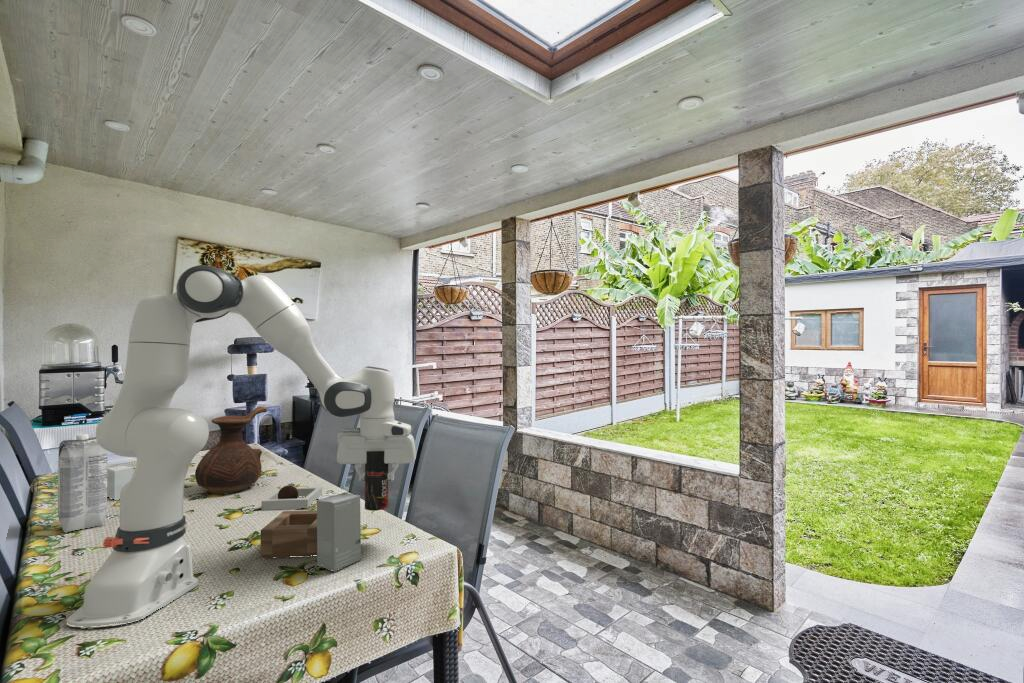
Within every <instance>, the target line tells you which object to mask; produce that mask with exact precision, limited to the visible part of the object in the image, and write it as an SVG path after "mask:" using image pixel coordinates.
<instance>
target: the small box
mask: <svg viewBox="0 0 1024 683" xmlns="http://www.w3.org/2000/svg"><path fill="white" fill-rule="evenodd" d="M133 474H134V467H133V466H128V465H124V464H123V465H118V466H112V467H107V497H109V498H112V499H114V500H116V499H120V492H121V490H122V488H123V487H124V486H125V485H126V484H127V483H128V482H130V480H131V479H132V477H133ZM109 498H108V499H109ZM114 500H113V501H114ZM116 501H117V500H116Z"/></svg>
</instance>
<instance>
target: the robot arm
mask: <svg viewBox="0 0 1024 683" xmlns="http://www.w3.org/2000/svg"><path fill="white" fill-rule="evenodd" d="M230 312H233V313H236V314H238V315H241V317H242V318H244V319H245V320H246V321H247V322H248V323H249V324H250V326H251V327H252V329H254V331H255V332H256V333H257V334H258V335H259V336H260V337H261V339H262V340H264V341H265V343H267V344H268V345H269V346H270V347H271V348H273V349H274V350H275V351H277V352H278V353H280V354H282V355H283V356H285V357H287V358H288V359H289V360H291V361H292V362H293V363H294V364H296V366H297V367H298V368H299V369H300V371H302V373H303V374H304V375H305V377H306V378H307V379H308V380H309V381H310V383H311V384H312V385H313V386H314V388H315V389H316V391H317V395H318V398H319V403H320V405H321V407H322V408H323V410H324V411H325V412H327V413H328V414H330V415H332V416H334V417H336V418H341V419H344V418H350V417H351V416H356V415H359V427H352V428H350V427H345V428H342V429H340V430H339V431H338V433H337V436H336V442H337V445H338V446H337V453H336V461H337V463H338V464H339V465H354V470H355V471H356V473H357V474H358V481H359V482H365V472H363V470H362V468H361V467H362V466H363V465H365V464H366V451H384V463H385V464H388V465H390V464H391V468H392V471H391V472H388V474H387V477H388V478H387V480H388V482H389V481H390V482H391V481H394V480H395V472H396V471H397V469H398V467H399V464H412V463H413V462H414V461H415V460H416V458H417V450H416V441H415V438H414V436H413V435H412V434H411V433H412V426H411V425H410V424H409V423H404V422H403V421H402V422H401V421H398V420H396V419H395V412H394V403H395V381H394V377H393V373H392V372H391V371H390V370H388V369H387V368H382V367H377V366H364V367H363V368H362V369H361V370H358V371H357V372H356V373H353V374H352V375H349V376H346V377H343V376H341V375H339V374H337V373H336V372H335V371H334V370H333V368H332V367H331V366H330V365H329V363H328V362H327V361H326V360H325V358H324V357H323V356H322V354H321V353H320V352H319V350H318V349H317V347H316V344H315V343H314V339H313V336H312V332H311V331H312V330H311V327H310V325H309V323H308V321H307V319H306V317H305V316H304V314H303V312H302V311H301V310H300V309H299V307H298V306H297V305H296V304H295V302H294V301H293V300H292V298H290V296H289V295H288V294H287V293H286V292H285V291H284V290H283V289H282V288H281V287H280V286H279V285H277V283H276V282H274V281H273V280H271V278H269V277H268V276H266V275H264V274H254V275H249V276H247V277H245V278H243V279H242V280H241V278H240V277H239V276H236V275H234V274H232V273H229V272H227V271H225V270H223V269H221V268H218V267H215V266H211V265H206V264H203V265H202V264H201V265H195V266H191V267H189V268H187V269H186V270H185V271H184V272H182V273H181V274H180V276H179V278H178V280H177V283H176V291H175V292H174V293H171V294H160V293H159V294H152V295H147V296H145V297H143V298H141V299H140V300H139V301H138V303H137V304H136V307H135V310H134V312H133V313H134V314H133V316H132V319H131V325H130V330H129V335H128V344H127V352H126V353H127V354H126V362H125V363H126V364H125V369H124V370H125V371H124V377H123V382H122V386H121V388H120V390H119V393H118V395H117V398H116V400H115V401H114V404H113V405H112V408H111V409H110V411H108V412H107V413H106V414H105V415H104V416H103V417H102V418H101V419H100V421H99V422H98V424H97V425H96V429H95V437H96V440H97V442H98V444H99V445H100V446H101V447H102V448H103V449H105V450H107V452H109V453H111V454H114V455H116V456H120V457H127V458H136V465H135V469H134V470H133V477H132V479H131V480H130V482H128V483H127V484H126V485H125V486H124V487H123V488H122V490H121V492H120V500H119V526H118V527H117V530H116V533H115V535H114V536H113V537H111V536H107V537H105V538H104V541H102V547H103V548H104V549H106V548H107V549H108V548H112V551H111V553H110V554H109V556H108V557H107V558H106V560H105V561H104V562H103V564H102V565H101V566H100V567H99V569H98V570H97V572H96V573H95V575H94V576H93V577H92V578H91V579H90V581H89V582H88V583H87V585H86V587H85V590H84V597H83V603H82V605H81V606H80V607H79V608H78V609H77V610H75V611H74V612H73V613H72V614H71V615H69V617H68V618H66V622H65V624H66V623H68V624H70V625H74V626H83V627H91V626H101V625H108V624H114V623H115V624H116V623H117V624H118V623H119V624H120V623H128V622H132V621H136V620H140V619H143V618H145V617H146V616H148V615H150V614H151V613H153V612H154V611H156V610H158V609H159V610H161V609H163V608H164V607H165V606H167V605H169V604H170V602H171V603H172V602H173V600H174V601H175V600H177V599H178V598H180V597H181V596H183V595H185V594H186V593H188V592H189V591H191V590H192V589H194V588H196V587H198V585H199V584H200V582H199V578H197V577H195V576H194V567H193V558H192V550H191V546H190V545H189V543H188V541H187V540H186V537H185V534H186V531H187V521H186V516H185V515H184V496H185V495H184V494H185V492H184V490H185V481H186V477H187V474H188V470H189V468H190V466H191V462H192V461H193V459H194V458H195V456H197V455H198V453H200V452H201V451H202V450H203V449H204V448H205V445H206V444H207V443H208V439H209V436H210V428H209V424H208V422H207V420H206V419H205V418H204V417H203V416H202V415H201V414H199V413H197V412H196V413H195V412H194V411H190V410H187V409H184V408H178V407H170V405H171V402H172V399H173V398H174V395H175V394H176V391H177V390H178V389H179V388H180V387H182V386H184V384H185V383H186V381H187V379H188V375H189V373H188V372H189V364H190V362H189V361H190V348H191V345H190V344H191V335H192V329H193V326H194V324H196V323H201V322H206V321H213V320H217V319H220V318H223V317H224V316H226V315H227V314H229V313H230ZM162 607H163V608H162ZM160 608H161V609H160ZM159 610H158V611H159ZM156 612H157V611H156ZM153 614H154V613H153ZM151 615H152V614H151ZM151 615H150V616H151ZM148 617H149V616H148ZM145 619H146V618H145ZM143 620H144V619H143Z"/></svg>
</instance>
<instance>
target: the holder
mask: <svg viewBox="0 0 1024 683" xmlns="http://www.w3.org/2000/svg"><path fill="white" fill-rule="evenodd" d="M311 555H312V556H313V555H317V509H316V510H315V509H314V510H313V509H312V510H309V509H306V510H285V511H284V510H283V511H282V512H281V513H279V514H278V515H277V516H276V517H275V518H273V520H271V521H270V522H268V523H267V524H266V525H265V526H263V528H262V529H260V559H261V558H269V559H274V558H273V557H290V556H311Z"/></svg>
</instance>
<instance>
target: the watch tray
mask: <svg viewBox="0 0 1024 683" xmlns="http://www.w3.org/2000/svg"><path fill="white" fill-rule="evenodd" d="M281 488H282V487H280V488H278V489H277V490H276V491H274V492H272V493H271V494H270V495H268V496H267V497H265V498H264V499H262V500H261V511H276V510H277V511H279V510H280V511H282V509H287V510H302V509H301V508H308V507H309V506H310V505H311V504H312V503H313V502H314V501H315V500H316V499H318V498H319V497H320V496H321V495H322V496H323V486H314V487H313V486H311V487H309V486H308V487H306V486H305V487H295V488H296V489H297V490H298V497H297V499H278V493H279V491H280V489H281ZM299 496H307V497H299ZM322 496H321V497H322ZM321 497H320V498H321ZM320 498H319V499H320ZM319 499H318V500H319ZM313 504H314V503H313ZM313 504H312V505H313ZM312 505H311V506H312ZM311 506H310V507H311ZM310 507H309V508H310ZM309 508H308V509H309Z"/></svg>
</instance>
